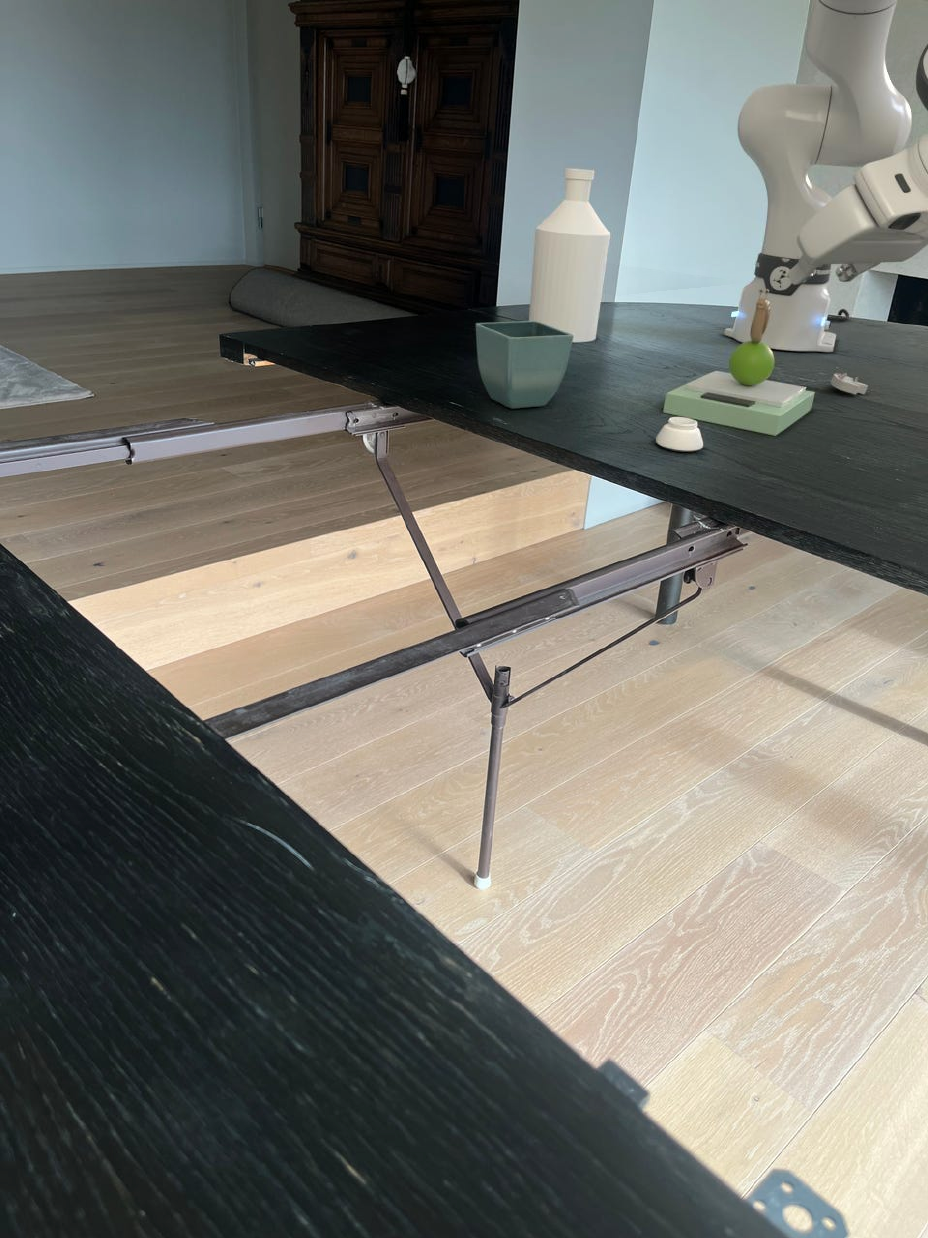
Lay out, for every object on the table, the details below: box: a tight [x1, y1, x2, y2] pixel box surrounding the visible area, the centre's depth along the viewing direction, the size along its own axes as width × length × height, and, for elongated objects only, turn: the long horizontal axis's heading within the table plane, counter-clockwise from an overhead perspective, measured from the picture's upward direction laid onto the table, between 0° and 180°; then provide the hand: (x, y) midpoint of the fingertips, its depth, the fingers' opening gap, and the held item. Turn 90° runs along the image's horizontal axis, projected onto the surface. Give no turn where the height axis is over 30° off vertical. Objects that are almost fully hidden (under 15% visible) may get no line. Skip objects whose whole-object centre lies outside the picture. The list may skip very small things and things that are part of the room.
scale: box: [662, 370, 816, 437], centre depth 120 cm, size 16×14×3 cm
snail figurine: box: [728, 288, 775, 386], centre depth 118 cm, size 5×6×12 cm
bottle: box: [528, 167, 611, 343], centre depth 153 cm, size 12×12×25 cm
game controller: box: [781, 372, 869, 395], centre depth 134 cm, size 6×12×3 cm, turn 100°
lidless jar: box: [655, 416, 704, 453], centre depth 104 cm, size 5×3×5 cm
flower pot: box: [475, 320, 574, 410], centre depth 115 cm, size 9×9×9 cm
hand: (817, 278), depth 110 cm, fingers open, 8 cm apart
